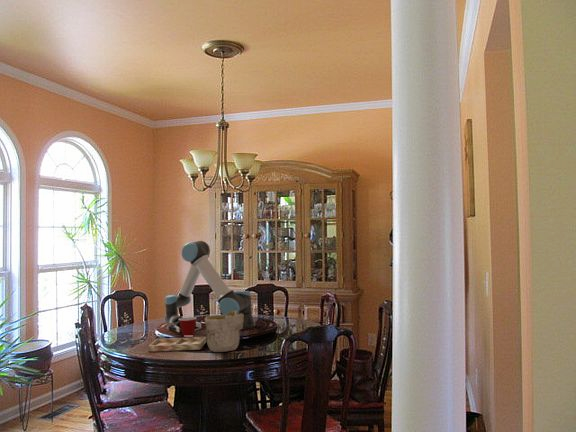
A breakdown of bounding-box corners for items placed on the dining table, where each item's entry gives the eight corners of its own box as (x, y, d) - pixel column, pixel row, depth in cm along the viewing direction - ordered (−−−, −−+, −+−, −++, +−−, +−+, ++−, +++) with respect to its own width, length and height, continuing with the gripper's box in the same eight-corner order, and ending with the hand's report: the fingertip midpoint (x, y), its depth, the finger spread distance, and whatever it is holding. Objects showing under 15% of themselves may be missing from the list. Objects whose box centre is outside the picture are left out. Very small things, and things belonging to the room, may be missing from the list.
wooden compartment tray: (206, 342, 283) (206, 336, 283) (200, 349, 268) (199, 344, 268) (157, 344, 285) (156, 338, 285) (148, 351, 270) (148, 346, 270)
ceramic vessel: (185, 333, 271) (211, 295, 277) (220, 355, 278) (244, 317, 285) (195, 342, 250) (222, 300, 257) (232, 365, 258) (258, 323, 264)
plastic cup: (199, 335, 300) (198, 315, 300) (194, 339, 289) (193, 319, 289) (182, 335, 301) (181, 316, 301) (176, 340, 291) (175, 320, 290)
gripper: (196, 324, 317) (209, 330, 299) (158, 331, 304) (169, 338, 286) (195, 313, 317) (208, 318, 299) (157, 319, 304) (169, 325, 286)
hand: (189, 327), depth 293 cm, fingers open, 13 cm apart
